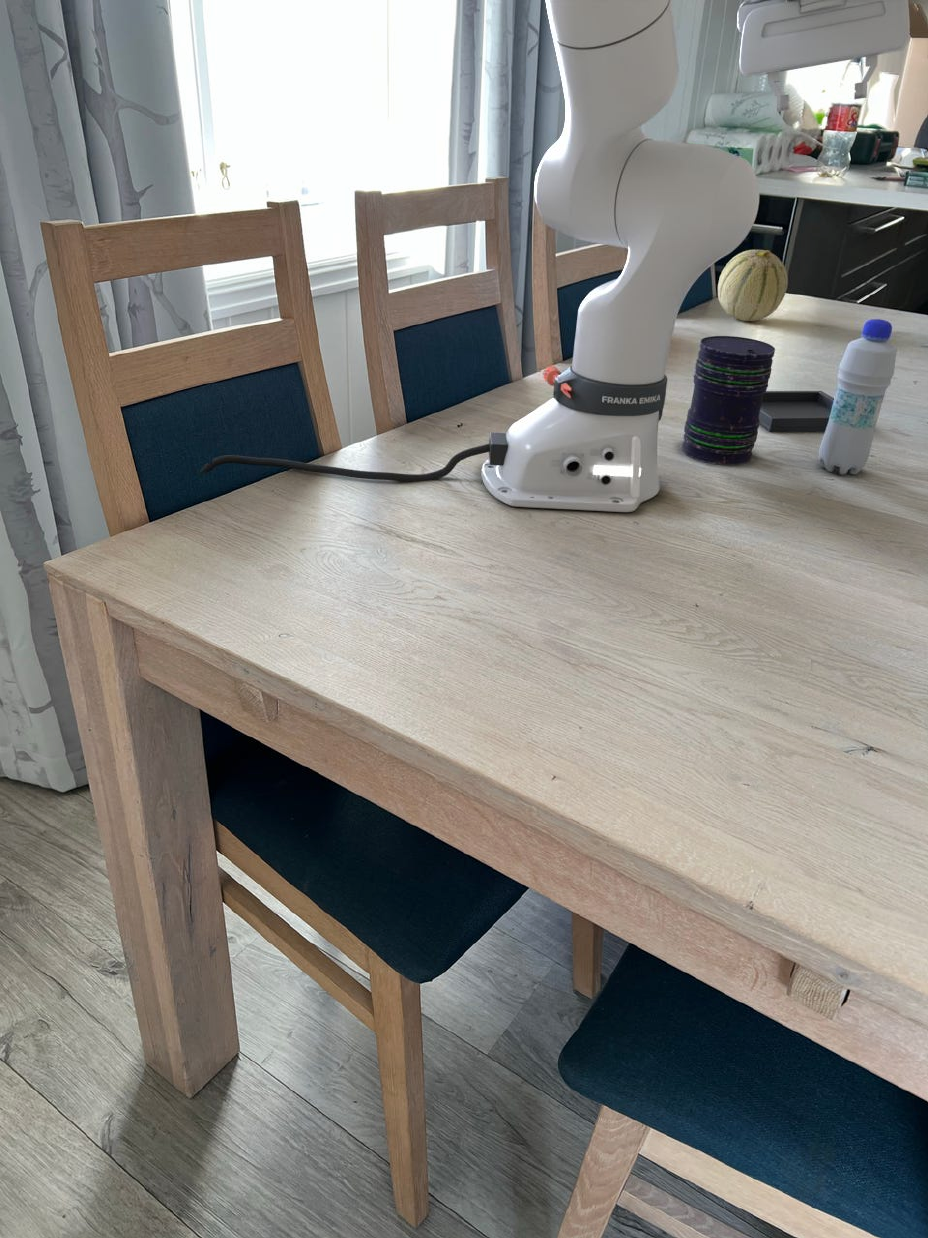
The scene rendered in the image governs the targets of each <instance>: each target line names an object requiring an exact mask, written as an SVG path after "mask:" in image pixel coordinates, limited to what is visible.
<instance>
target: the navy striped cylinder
mask: <svg viewBox="0 0 928 1238" xmlns="http://www.w3.org/2000/svg"><path fill="white" fill-rule="evenodd" d="M775 352H776V347H774V346H773V345H772V344H770V343H768V342H765V341H762V340H759V339H758V340H757V339H753V338H748V337H743V336H733V335H713V336H711V335H710V336H706V337H703V338H701V339H700V343H699V351H698V354H697V359H696V361H695V366H694V369H695V371H694V374H693V384H694V386H693V393H692V396H691V397H692V398H691V403H690V408H689V409H688V410H687V415H686V420H685V422H684V423H685V424H684V428H683V433H684V435H683V442H682V445H681V451H682V452H683V454H684V455H686V456H687V457H688V458H690V459H693V460H696V461H699V462H702V463H707V464H711V465H717V466H718V465H720V466H739V465H744V464H747V463H749V462H750V461H751V460H752V457H753V449H754V448H755V444H756V442H757V439H758V434H759V432H758V430H759V427H760V425H759V422H760V419H759V413H760V408H761V404H762V399H763V395H764V393H765V392H766V391H768V390H767V389H768V388H769V380H770V379H771V375H772V371H773V370H772V365H773V361H774V360H773V358H774V356H775Z"/></svg>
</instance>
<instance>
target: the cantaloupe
mask: <svg viewBox="0 0 928 1238" xmlns="http://www.w3.org/2000/svg"><path fill="white" fill-rule="evenodd" d="M788 277H789V276H788V272H787V270H786V268H785V265H784V264H783V262H782V261H781V259H780V258H779V257H778V256H777V255H775V254H774V253H772V252H771V251H770V250H764V249H748V250H745V251H742V252H740V253H738V254H736V255H735V256H733V257H732V258H731V259H730V260H729V261H728V262H727V263H726V265H725V266H724V268H723V269H722V271H721V274H720V275H719V280H718V284H717V298H718V301H719V304H720V306H721V307H722V308H723V310H724V311H725V312H726V313H727V314H728V315H729V316H730V317H733V318H735V319H736V320H740V321H747V322H753V321H755V322H756V321H759V320H762V319H764V318H767V317H769V316H770V315H772V314H773V313H774V312H776V310H778V308H779V307H780V305H781V303H782V301H784V297H785V296H786V293H787V289H788V285H789V278H788Z"/></svg>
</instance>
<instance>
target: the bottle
mask: <svg viewBox="0 0 928 1238" xmlns="http://www.w3.org/2000/svg"><path fill="white" fill-rule="evenodd" d="M892 330H893V325H892V323H891V322H890V321H888V320H886V319H885V320H884V319H881V318H873V319H868V320H867V321H865V323H864V325H863V328H862V331H861V337H860V338H857V339H854V340H851V341H849V343H848V344H847V345H846V349H845V351H844V354H843V356H842V359H841V361H840V364H839V366H838V367H839V368H838V373H837V380H838V383H837V386H836V390H835V394H834V397H833V398H834V402H833V406H832V410H831V414H830V418H829V422H828V425H827V428H826V431H824V434H823V436H822V440H821V443H820V447H819V452H818V463H819V465H820V467H822V468H824V469H825V470H826V471H827V472H829V473H830V472H831V473H832V472H833V471H834V469H835V467H839V475H842V476H843V475H846V474H847V473H848V471H849V474H851V475H856V474H859V473H860V472H861V470H862V469H863V468H864V467H865V465H866V464H867V462H868V459H869V457H870V453H871V449H872V443H873V438H874V435H875V429H876V426H877V423H878V419H879V416H880V412H881V408H882V405H883V402H884V398H885V395H886V391H887V389H888V388H889V386H891V383H892V382H891V381H892V378H893V376H894V375H895V368H896V360H897V353H898V350H897V348H896V347H895V346H894V345H893V344H891V343H890V342H889V340H890V338H891V335H892V333H893V331H892Z"/></svg>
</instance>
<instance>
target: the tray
mask: <svg viewBox="0 0 928 1238" xmlns="http://www.w3.org/2000/svg"><path fill="white" fill-rule="evenodd" d="M834 398H835V397H833V396H831V395H830V394H827V392H824V391H822V390H766V392H765V393H764V395H763V399H762V404H761V408H760V413H759V419H760V422H759V426H761V427H762V428H763V429H765V430H766V431H767V432H769V433H784V432H785V433H788V432H791V433H792V432H793V433H794V432H796V433H797V432H825V431H826V428H827V425H828V422H829V418H830V414H831V410H832V406H833V402H834Z"/></svg>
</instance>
